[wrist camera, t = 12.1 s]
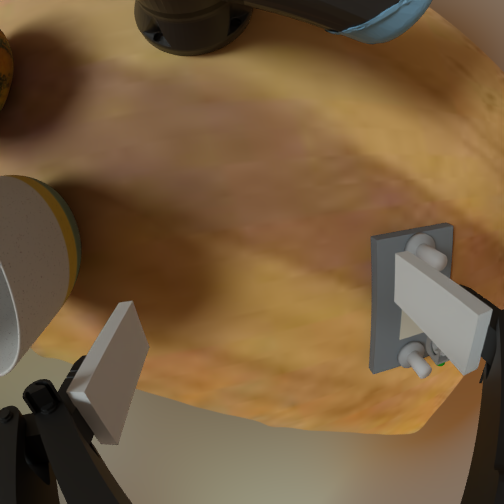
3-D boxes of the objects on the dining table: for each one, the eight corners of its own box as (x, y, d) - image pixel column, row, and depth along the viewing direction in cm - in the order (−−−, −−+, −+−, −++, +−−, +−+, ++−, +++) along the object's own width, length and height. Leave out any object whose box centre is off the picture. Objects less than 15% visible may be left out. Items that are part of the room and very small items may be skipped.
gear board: (370, 236, 43) (397, 254, 35) (445, 222, 43) (477, 236, 35) (368, 367, 50) (386, 396, 43) (433, 346, 51) (455, 370, 43)
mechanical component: (425, 273, 43) (463, 302, 33) (419, 329, 46) (451, 363, 37) (409, 277, 43) (447, 307, 33) (405, 334, 46) (435, 369, 37)
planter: (72, 142, 35) (-38, 148, 15) (125, 271, 42) (58, 363, 21) (-14, 201, 36) (-109, 238, 16) (34, 307, 42) (-37, 385, 22)
